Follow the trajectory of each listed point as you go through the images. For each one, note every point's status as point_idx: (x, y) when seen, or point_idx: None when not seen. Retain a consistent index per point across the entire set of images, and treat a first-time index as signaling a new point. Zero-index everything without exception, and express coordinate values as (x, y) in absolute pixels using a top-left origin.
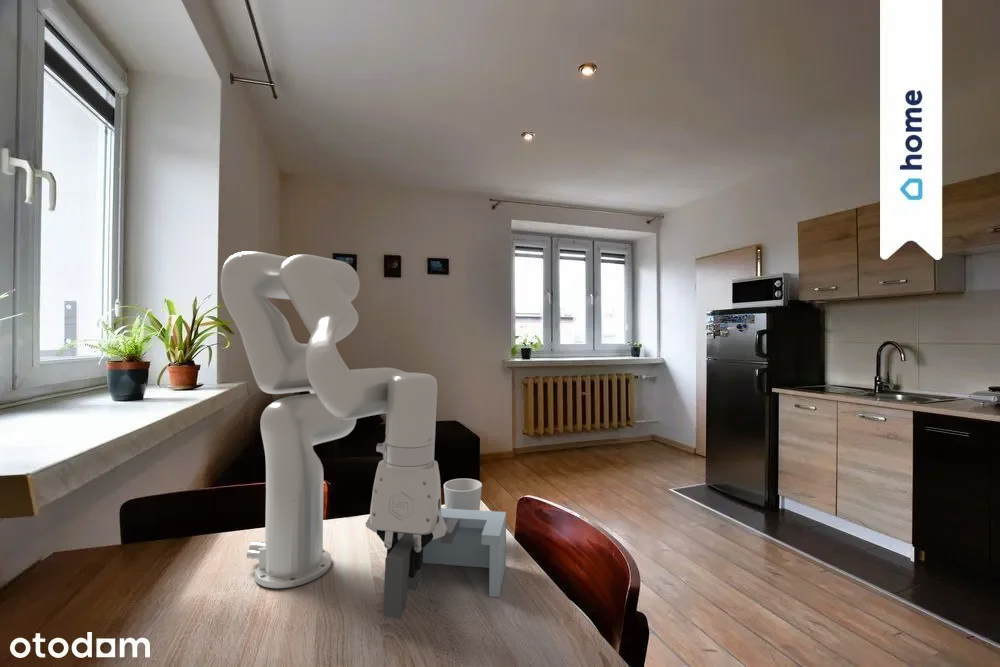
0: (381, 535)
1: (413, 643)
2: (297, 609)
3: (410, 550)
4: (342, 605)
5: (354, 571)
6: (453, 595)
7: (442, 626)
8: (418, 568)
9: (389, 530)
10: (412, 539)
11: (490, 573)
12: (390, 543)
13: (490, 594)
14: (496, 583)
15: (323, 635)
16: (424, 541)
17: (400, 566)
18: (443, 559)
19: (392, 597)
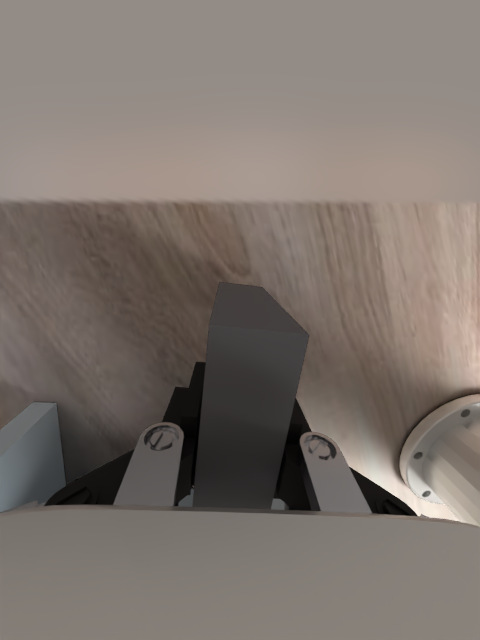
0: (376, 497)
1: (183, 249)
2: (430, 341)
3: (200, 426)
4: (352, 357)
5: (351, 452)
6: (137, 400)
7: (134, 304)
8: (178, 387)
9: (368, 519)
10: (212, 504)
11: (12, 442)
12: (309, 453)
13: (50, 405)
14: (15, 423)
15: (368, 270)
16: (115, 479)
17: (222, 315)
18: (182, 499)
19: (244, 293)
